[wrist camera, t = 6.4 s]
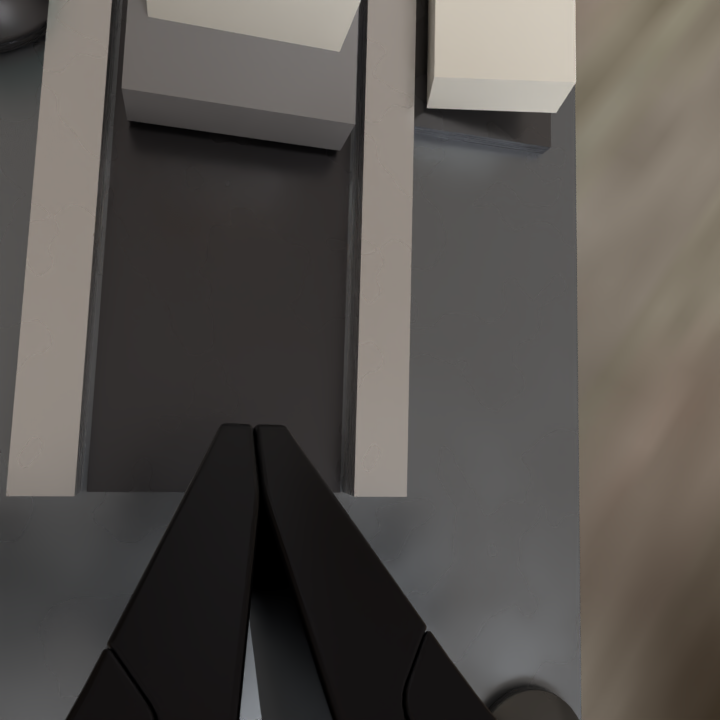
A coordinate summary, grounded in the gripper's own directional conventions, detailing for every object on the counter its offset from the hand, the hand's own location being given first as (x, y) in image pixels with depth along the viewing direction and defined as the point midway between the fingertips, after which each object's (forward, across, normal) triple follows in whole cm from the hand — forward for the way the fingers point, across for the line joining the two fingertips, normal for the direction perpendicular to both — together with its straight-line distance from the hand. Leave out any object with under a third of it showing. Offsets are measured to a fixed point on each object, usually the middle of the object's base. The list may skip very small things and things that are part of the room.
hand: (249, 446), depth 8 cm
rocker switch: (+11, -6, -4) cm, 13 cm away
